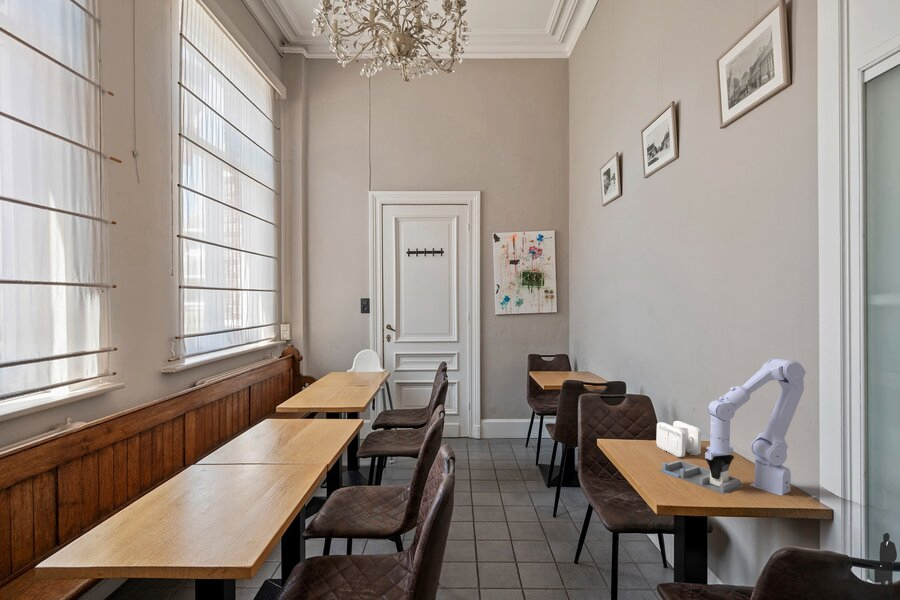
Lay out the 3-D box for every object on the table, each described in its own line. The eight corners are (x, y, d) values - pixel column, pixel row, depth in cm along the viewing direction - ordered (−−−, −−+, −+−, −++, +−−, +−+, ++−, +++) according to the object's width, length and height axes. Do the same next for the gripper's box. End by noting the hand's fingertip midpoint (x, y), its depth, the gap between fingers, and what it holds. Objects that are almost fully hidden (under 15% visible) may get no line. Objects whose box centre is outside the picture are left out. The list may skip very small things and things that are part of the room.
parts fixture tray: (743, 487, 154) (743, 477, 154) (723, 496, 147) (723, 485, 147) (677, 465, 173) (678, 456, 173) (657, 472, 166) (657, 462, 166)
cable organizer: (702, 458, 182) (703, 429, 182) (680, 460, 179) (680, 430, 179) (675, 446, 197) (676, 419, 196) (654, 447, 194) (655, 420, 194)
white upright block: (728, 484, 154) (728, 464, 154) (721, 487, 151) (722, 466, 151) (715, 480, 157) (716, 460, 157) (709, 483, 155) (710, 462, 155)
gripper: (718, 430, 161) (717, 469, 161) (696, 436, 153) (695, 477, 154) (740, 436, 155) (739, 475, 156) (718, 442, 148) (717, 484, 148)
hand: (719, 476), depth 154 cm, fingers closed on white upright block, 4 cm apart
